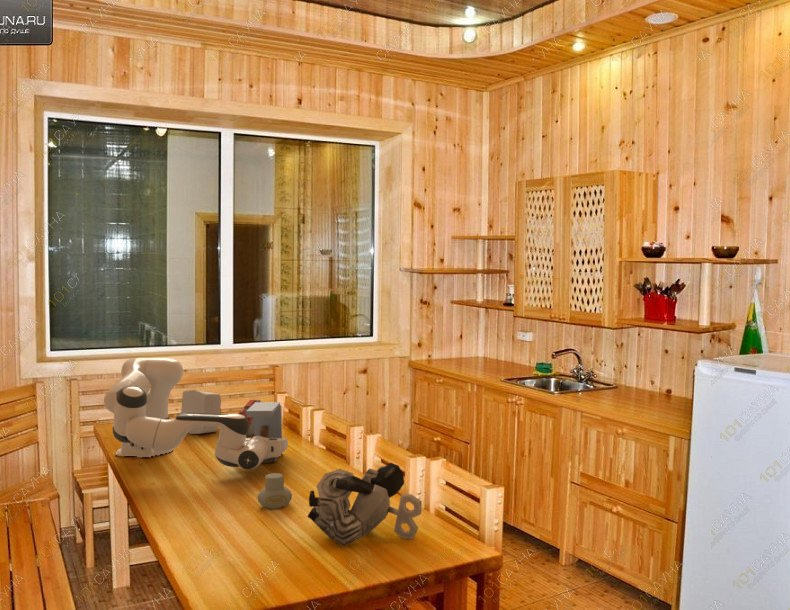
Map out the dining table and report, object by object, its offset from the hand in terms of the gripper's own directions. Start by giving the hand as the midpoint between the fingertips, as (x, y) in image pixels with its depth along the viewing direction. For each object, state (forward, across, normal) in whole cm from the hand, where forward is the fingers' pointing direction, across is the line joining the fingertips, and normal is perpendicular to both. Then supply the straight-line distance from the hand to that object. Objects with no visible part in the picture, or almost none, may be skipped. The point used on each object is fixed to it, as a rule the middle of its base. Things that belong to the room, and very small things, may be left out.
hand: (265, 439), depth 291 cm
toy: (-78, +45, -8) cm, 90 cm away
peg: (-1, 0, -7) cm, 7 cm away
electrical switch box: (+47, -38, -8) cm, 61 cm away
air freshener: (-54, +14, -8) cm, 56 cm away
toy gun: (+38, -15, -8) cm, 42 cm away
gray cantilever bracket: (-1, 0, -8) cm, 8 cm away
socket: (-1, 0, -8) cm, 8 cm away
